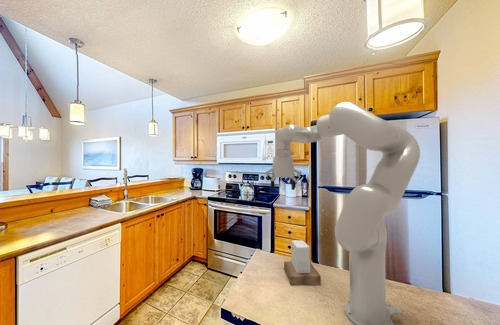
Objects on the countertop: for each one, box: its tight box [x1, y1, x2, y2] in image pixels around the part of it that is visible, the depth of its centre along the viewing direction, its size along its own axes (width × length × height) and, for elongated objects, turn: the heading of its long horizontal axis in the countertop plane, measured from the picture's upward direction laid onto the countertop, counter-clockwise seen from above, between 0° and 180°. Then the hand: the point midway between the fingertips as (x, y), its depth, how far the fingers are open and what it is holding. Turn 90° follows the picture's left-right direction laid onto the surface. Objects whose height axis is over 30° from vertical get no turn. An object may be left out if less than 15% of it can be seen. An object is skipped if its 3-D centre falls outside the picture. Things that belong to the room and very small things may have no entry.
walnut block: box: [283, 260, 322, 287], centre depth 78 cm, size 12×12×4 cm
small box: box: [291, 239, 311, 273], centre depth 78 cm, size 8×6×10 cm
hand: (283, 189), depth 87 cm, fingers open, 9 cm apart
